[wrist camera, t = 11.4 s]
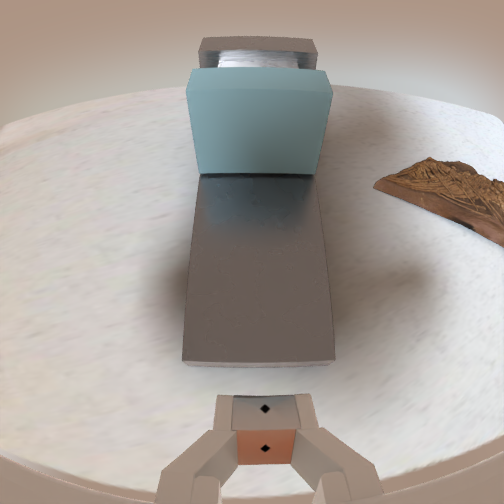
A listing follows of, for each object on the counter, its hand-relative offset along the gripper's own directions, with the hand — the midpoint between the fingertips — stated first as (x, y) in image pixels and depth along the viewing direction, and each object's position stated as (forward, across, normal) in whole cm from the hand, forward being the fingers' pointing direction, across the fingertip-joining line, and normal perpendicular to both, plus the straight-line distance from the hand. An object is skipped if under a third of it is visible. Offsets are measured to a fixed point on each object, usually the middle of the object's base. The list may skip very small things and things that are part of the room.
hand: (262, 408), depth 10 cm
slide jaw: (+18, 0, -8) cm, 20 cm away
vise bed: (+17, 0, -4) cm, 18 cm away
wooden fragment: (+19, -24, -5) cm, 31 cm away
